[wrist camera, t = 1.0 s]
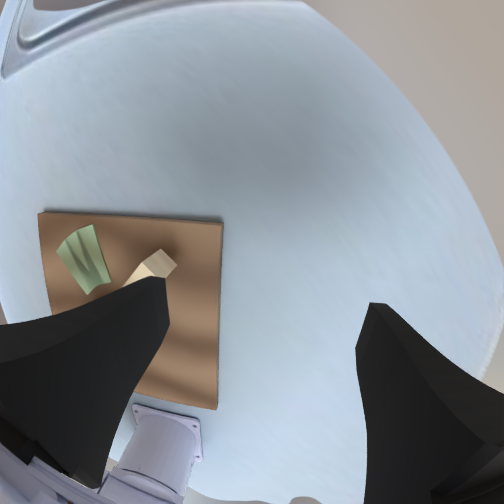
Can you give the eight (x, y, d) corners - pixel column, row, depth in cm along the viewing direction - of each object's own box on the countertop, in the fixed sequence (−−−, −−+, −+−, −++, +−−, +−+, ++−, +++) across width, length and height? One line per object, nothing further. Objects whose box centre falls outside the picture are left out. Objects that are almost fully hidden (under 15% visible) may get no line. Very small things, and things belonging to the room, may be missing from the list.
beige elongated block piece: (124, 354, 23) (104, 380, 19) (85, 317, 23) (61, 338, 19) (199, 276, 20) (181, 300, 16) (149, 228, 20) (122, 242, 16)
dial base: (218, 403, 26) (215, 411, 25) (72, 364, 27) (67, 370, 26) (223, 223, 21) (220, 226, 19) (44, 211, 22) (36, 214, 21)
